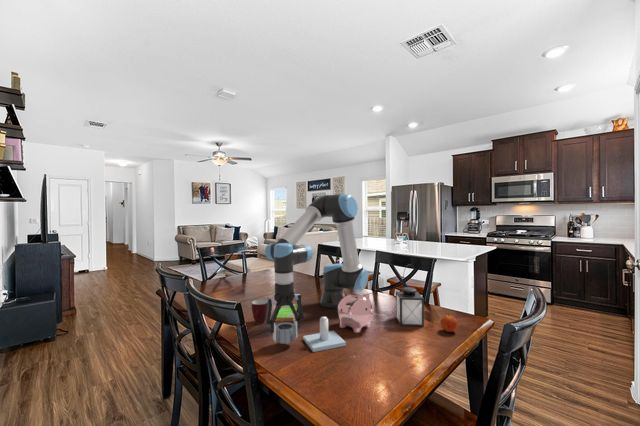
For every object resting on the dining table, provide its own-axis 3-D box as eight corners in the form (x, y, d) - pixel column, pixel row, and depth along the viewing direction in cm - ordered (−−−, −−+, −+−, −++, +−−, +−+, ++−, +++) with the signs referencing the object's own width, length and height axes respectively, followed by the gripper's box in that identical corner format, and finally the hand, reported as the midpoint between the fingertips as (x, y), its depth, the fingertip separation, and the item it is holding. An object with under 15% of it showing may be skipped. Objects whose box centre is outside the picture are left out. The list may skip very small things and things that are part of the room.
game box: (274, 323, 145) (280, 307, 166) (294, 323, 145) (297, 307, 165) (274, 317, 145) (280, 302, 165) (294, 317, 145) (297, 302, 165)
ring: (292, 333, 124) (291, 321, 123) (297, 341, 116) (297, 328, 116) (273, 336, 121) (273, 324, 120) (277, 345, 113) (277, 332, 113)
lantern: (418, 318, 148) (417, 262, 148) (424, 326, 137) (423, 266, 137) (395, 317, 149) (395, 262, 149) (399, 326, 138) (399, 266, 138)
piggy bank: (363, 338, 125) (363, 300, 125) (331, 327, 137) (330, 293, 137) (381, 327, 136) (381, 293, 136) (350, 318, 148) (350, 286, 148)
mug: (266, 327, 137) (265, 306, 137) (248, 327, 137) (248, 306, 137) (269, 319, 147) (269, 299, 147) (253, 319, 147) (253, 299, 147)
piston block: (333, 334, 129) (333, 310, 129) (345, 345, 118) (345, 320, 118) (303, 339, 124) (303, 315, 124) (313, 352, 113) (313, 325, 113)
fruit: (456, 329, 133) (456, 311, 133) (458, 335, 127) (458, 317, 127) (440, 327, 136) (440, 310, 136) (441, 333, 129) (441, 315, 129)
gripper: (305, 277, 125) (306, 330, 126) (256, 282, 117) (257, 339, 118) (311, 281, 118) (312, 337, 119) (259, 287, 110) (261, 347, 111)
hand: (285, 338), depth 118 cm, fingers closed on ring, 8 cm apart
